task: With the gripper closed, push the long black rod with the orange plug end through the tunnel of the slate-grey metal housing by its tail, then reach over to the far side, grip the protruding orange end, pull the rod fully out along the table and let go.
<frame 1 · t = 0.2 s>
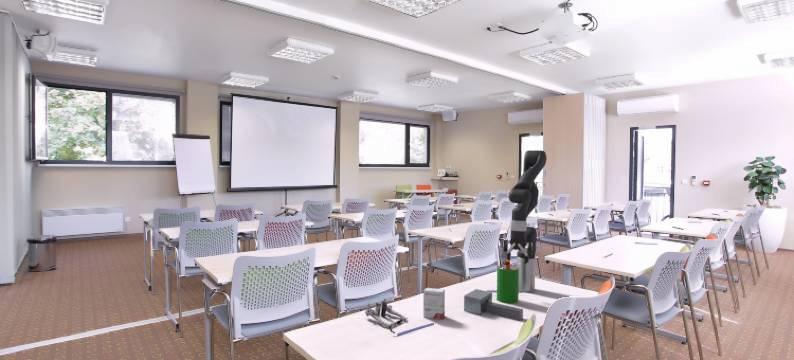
hand: (517, 262, 202), 17 cm above the table, tool pointing down, fingers open, 8 cm apart
bike brake: (389, 322, 170), on the table
housing: (478, 309, 185), on the table
plug rod: (499, 314, 179), on the table
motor: (507, 300, 197), on the table
ink box: (434, 317, 175), on the table
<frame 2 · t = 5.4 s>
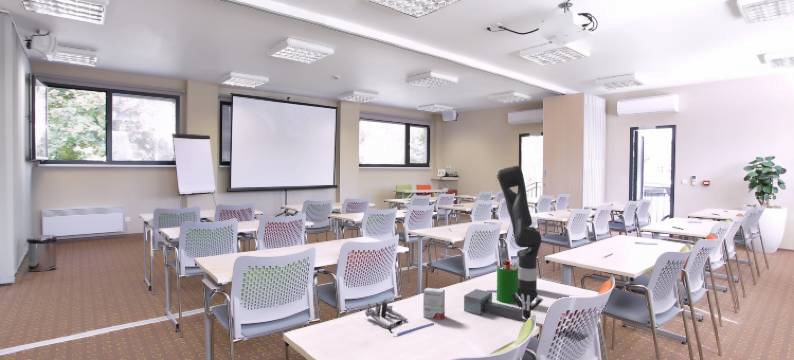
hand: (526, 318, 171), 1 cm above the table, tool pointing down, fingers closed
plug rod: (498, 314, 179), on the table, touching gripper
everything else where it was.
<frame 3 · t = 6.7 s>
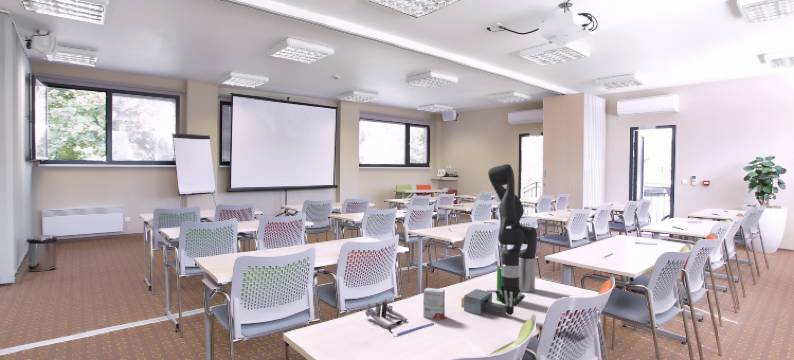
hand: (509, 314, 176), 1 cm above the table, tool pointing down, fingers closed
plug rod: (483, 310, 183), on the table, touching gripper
everything else where it was.
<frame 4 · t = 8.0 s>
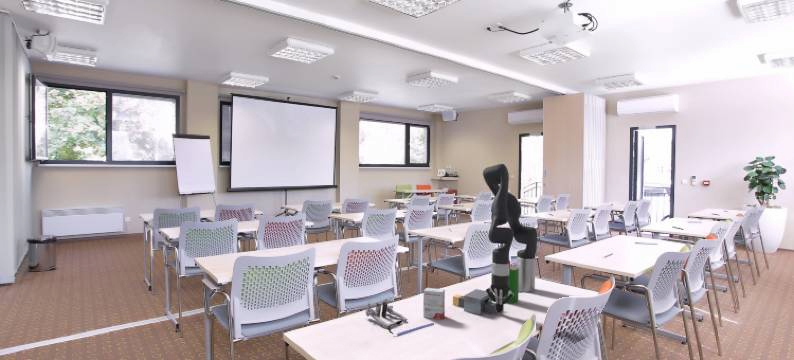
hand: (499, 312, 178), 1 cm above the table, tool pointing down, fingers closed
plug rod: (474, 308, 186), on the table, touching gripper
everything else where it was.
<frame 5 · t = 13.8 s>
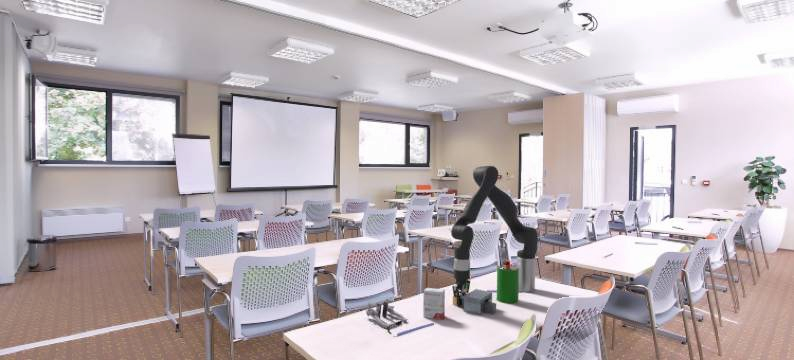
hand: (461, 304, 190), 0 cm above the table, tool pointing down, fingers closed on plug rod, 3 cm apart
plug rod: (473, 308, 186), on the table, touching gripper
everything else where it was.
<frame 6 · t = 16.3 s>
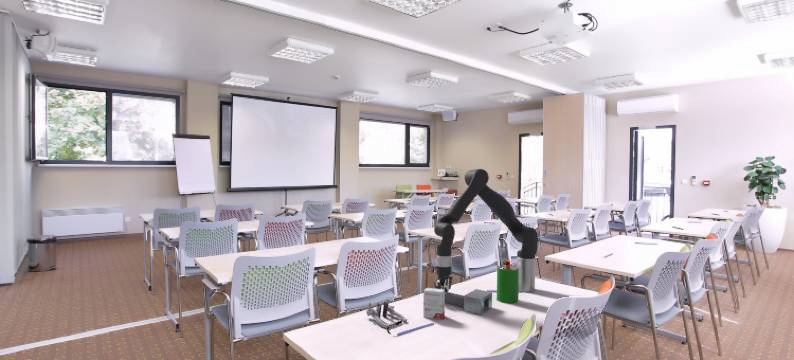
hand: (443, 299, 195), 1 cm above the table, tool pointing down, fingers closed on plug rod, 3 cm apart
plug rod: (455, 303, 191), on the table, touching gripper
everything else where it was.
when the fingers open (1 cm above the table, at t = 18.5 s): plug rod stays where it is, on the table.
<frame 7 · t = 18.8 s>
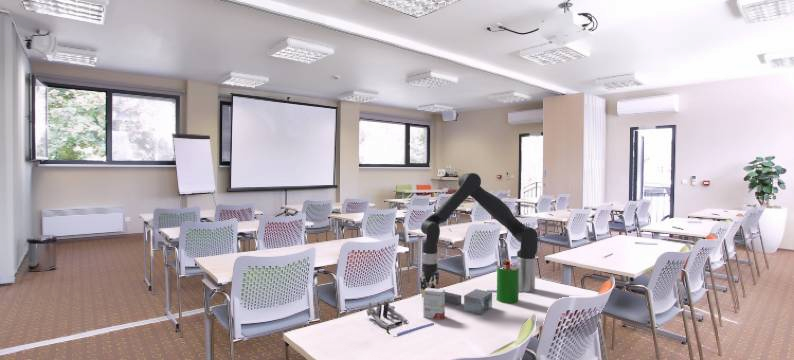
hand: (429, 295, 200), 1 cm above the table, tool pointing down, fingers open, 6 cm apart
plug rod: (440, 300, 196), on the table
everything else where it was.
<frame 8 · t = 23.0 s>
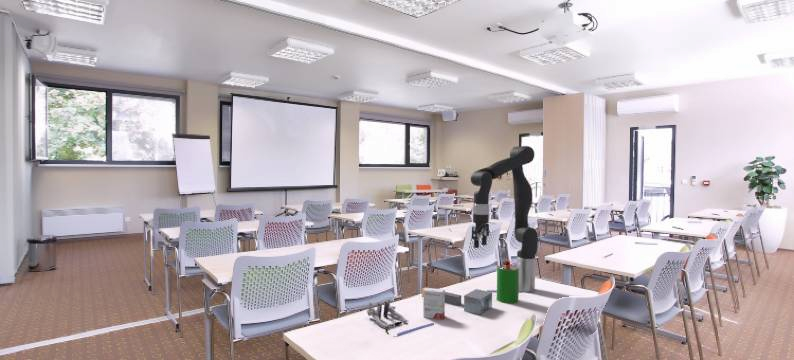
hand: (480, 246, 196), 26 cm above the table, tool pointing down, fingers open, 8 cm apart
at the end: plug rod inside the target area (4.0 cm from its centre), on the table; plug rod touching table; the gripper is holding nothing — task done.
